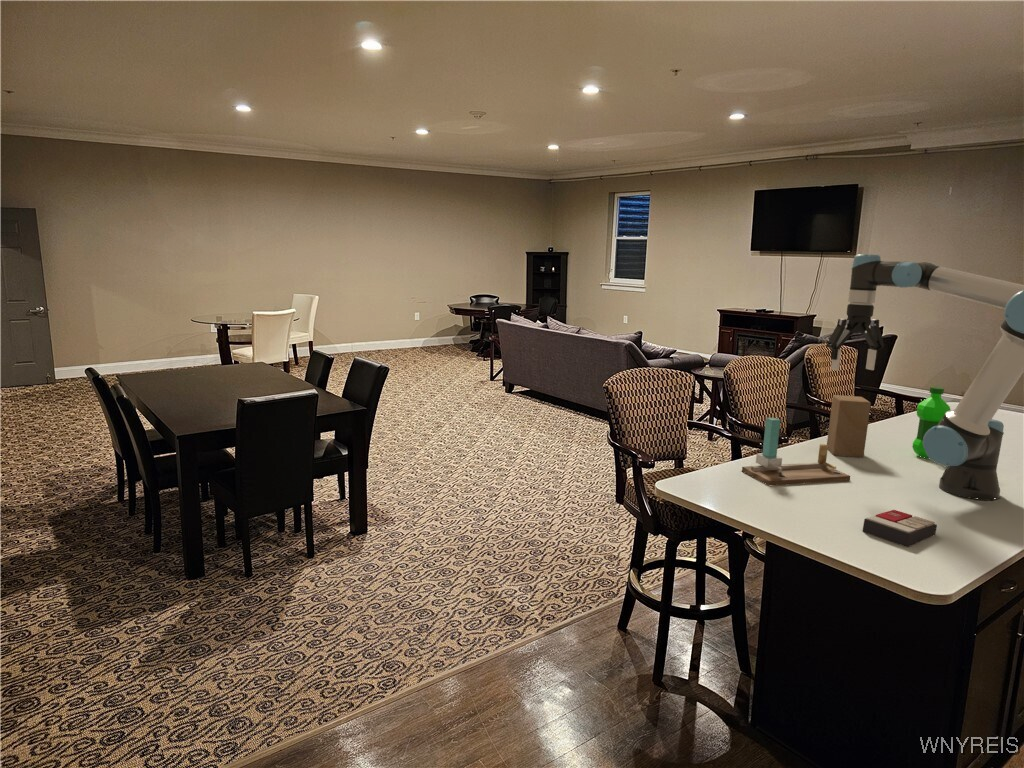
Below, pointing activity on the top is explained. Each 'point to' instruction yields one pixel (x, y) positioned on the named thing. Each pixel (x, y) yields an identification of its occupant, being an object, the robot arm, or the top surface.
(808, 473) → the hole plate
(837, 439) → the wooden block
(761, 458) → the sliding lever
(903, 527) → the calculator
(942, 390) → the plastic bottle
